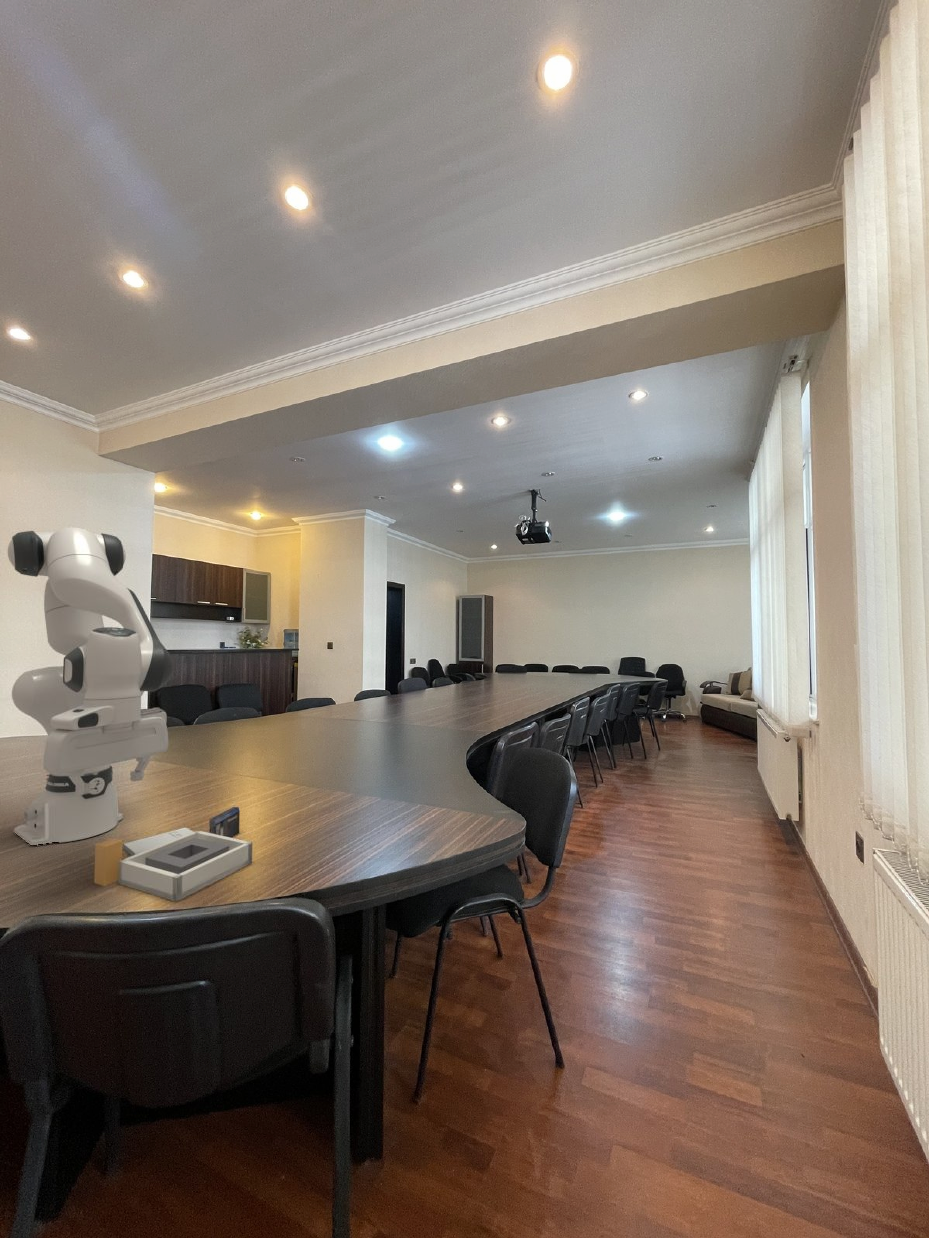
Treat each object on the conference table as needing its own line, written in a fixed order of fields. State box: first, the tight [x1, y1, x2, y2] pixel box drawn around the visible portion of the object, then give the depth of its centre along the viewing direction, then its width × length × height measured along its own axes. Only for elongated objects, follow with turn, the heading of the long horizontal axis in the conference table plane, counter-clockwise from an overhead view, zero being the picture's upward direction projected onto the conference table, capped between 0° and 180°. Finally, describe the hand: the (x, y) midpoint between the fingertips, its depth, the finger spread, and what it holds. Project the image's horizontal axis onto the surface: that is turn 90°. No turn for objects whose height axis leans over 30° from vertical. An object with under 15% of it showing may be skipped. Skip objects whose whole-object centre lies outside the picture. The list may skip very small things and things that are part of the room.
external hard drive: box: [122, 827, 194, 857], centre depth 107 cm, size 2×8×12 cm
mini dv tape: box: [208, 806, 241, 838], centre depth 109 cm, size 8×2×6 cm, turn 170°
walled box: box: [117, 830, 253, 903], centre depth 93 cm, size 16×16×4 cm
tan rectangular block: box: [94, 837, 124, 887], centre depth 90 cm, size 3×3×7 cm
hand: (111, 786), depth 91 cm, fingers open, 8 cm apart
